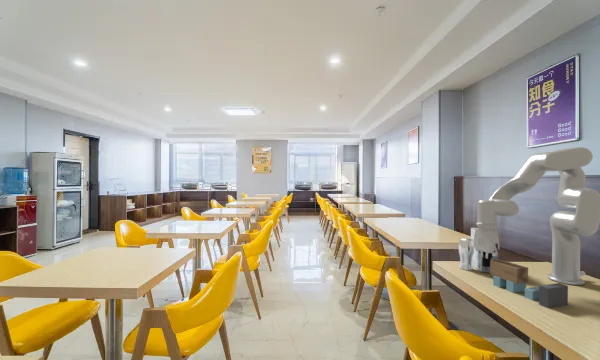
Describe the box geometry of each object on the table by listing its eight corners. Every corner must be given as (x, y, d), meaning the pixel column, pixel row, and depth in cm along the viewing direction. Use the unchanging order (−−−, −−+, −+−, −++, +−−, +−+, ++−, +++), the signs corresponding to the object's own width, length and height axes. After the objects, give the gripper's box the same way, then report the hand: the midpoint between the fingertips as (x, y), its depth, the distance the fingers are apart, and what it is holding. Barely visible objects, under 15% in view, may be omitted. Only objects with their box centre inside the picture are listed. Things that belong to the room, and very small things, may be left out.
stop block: (558, 301, 111) (558, 283, 111) (567, 304, 108) (568, 285, 108) (539, 304, 108) (539, 285, 108) (547, 307, 106) (548, 288, 106)
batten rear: (505, 283, 130) (505, 274, 130) (512, 285, 127) (512, 276, 127) (493, 284, 128) (493, 275, 128) (499, 287, 125) (499, 278, 125)
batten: (537, 295, 117) (538, 286, 117) (545, 298, 114) (546, 289, 114) (524, 297, 115) (524, 288, 115) (532, 300, 112) (532, 291, 112)
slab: (500, 273, 132) (500, 259, 132) (527, 282, 120) (528, 267, 120) (490, 274, 130) (490, 260, 130) (516, 283, 119) (516, 268, 119)
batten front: (519, 288, 124) (519, 279, 124) (526, 291, 121) (526, 281, 121) (506, 290, 122) (506, 280, 122) (513, 292, 120) (513, 282, 119)
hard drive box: (498, 273, 144) (498, 232, 143) (481, 272, 145) (481, 232, 145) (485, 264, 159) (485, 227, 159) (469, 263, 160) (470, 227, 160)
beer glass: (455, 267, 153) (455, 238, 153) (464, 265, 156) (464, 237, 156) (467, 271, 147) (467, 241, 147) (477, 269, 150) (477, 240, 149)
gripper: (467, 224, 141) (466, 262, 142) (495, 229, 127) (494, 272, 127) (479, 223, 143) (479, 261, 144) (508, 229, 129) (508, 270, 129)
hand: (486, 266), depth 135 cm, fingers closed
